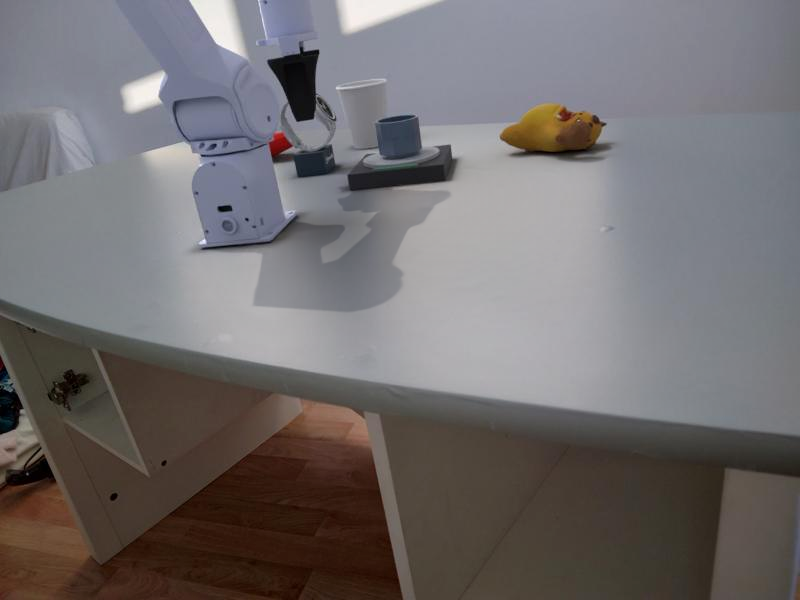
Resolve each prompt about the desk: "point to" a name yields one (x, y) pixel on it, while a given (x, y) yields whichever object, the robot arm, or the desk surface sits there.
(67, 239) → the desk surface
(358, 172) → the scale
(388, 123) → the blue cup
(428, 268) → the desk surface
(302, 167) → the watch
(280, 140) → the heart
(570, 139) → the toy
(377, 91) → the dixie cup
